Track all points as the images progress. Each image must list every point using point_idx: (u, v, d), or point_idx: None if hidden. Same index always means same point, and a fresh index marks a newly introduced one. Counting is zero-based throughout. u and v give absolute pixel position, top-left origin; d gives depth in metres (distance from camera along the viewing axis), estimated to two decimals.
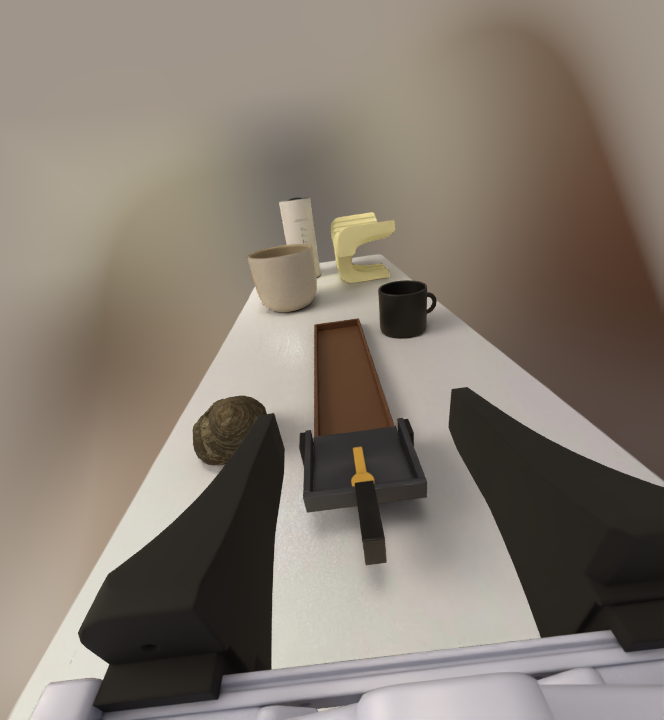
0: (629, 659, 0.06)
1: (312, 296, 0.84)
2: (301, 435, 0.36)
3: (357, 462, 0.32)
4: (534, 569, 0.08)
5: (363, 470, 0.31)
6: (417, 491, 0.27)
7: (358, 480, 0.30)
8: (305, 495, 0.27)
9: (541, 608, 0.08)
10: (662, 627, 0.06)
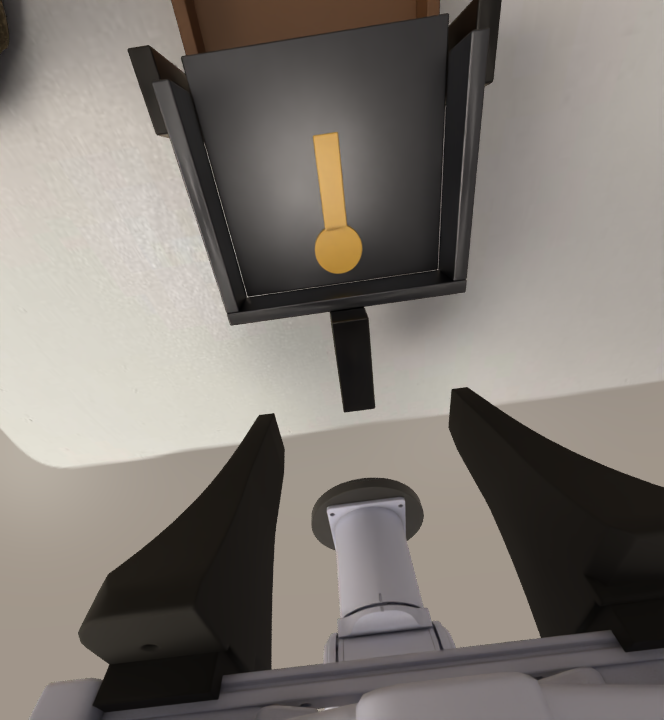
0: (629, 659, 0.06)
1: None
2: (137, 66, 0.11)
3: (326, 195, 0.13)
4: (534, 569, 0.08)
5: (340, 222, 0.14)
6: None
7: (329, 249, 0.14)
8: (232, 319, 0.14)
9: (541, 608, 0.08)
10: (662, 627, 0.06)
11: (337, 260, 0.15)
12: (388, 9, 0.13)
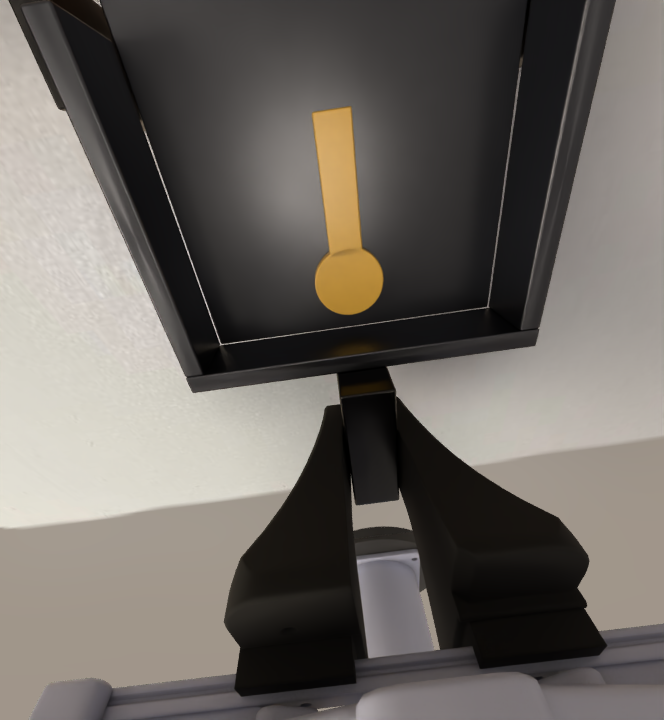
0: (629, 660, 0.06)
1: None
2: None
3: (332, 204, 0.09)
4: (431, 582, 0.08)
5: (353, 243, 0.09)
6: None
7: (335, 283, 0.10)
8: (195, 385, 0.10)
9: (437, 620, 0.08)
10: (514, 644, 0.06)
11: (347, 297, 0.10)
12: None
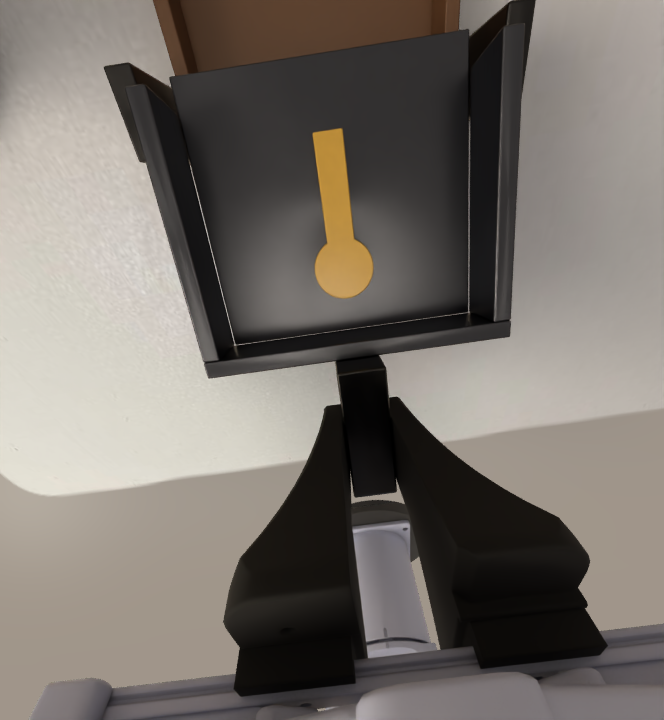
0: (629, 659, 0.06)
1: None
2: (116, 86, 0.09)
3: (329, 201, 0.11)
4: (432, 581, 0.08)
5: (346, 234, 0.11)
6: None
7: (332, 268, 0.12)
8: (211, 371, 0.11)
9: (438, 620, 0.08)
10: (514, 644, 0.06)
11: (342, 282, 0.12)
12: (400, 18, 0.12)
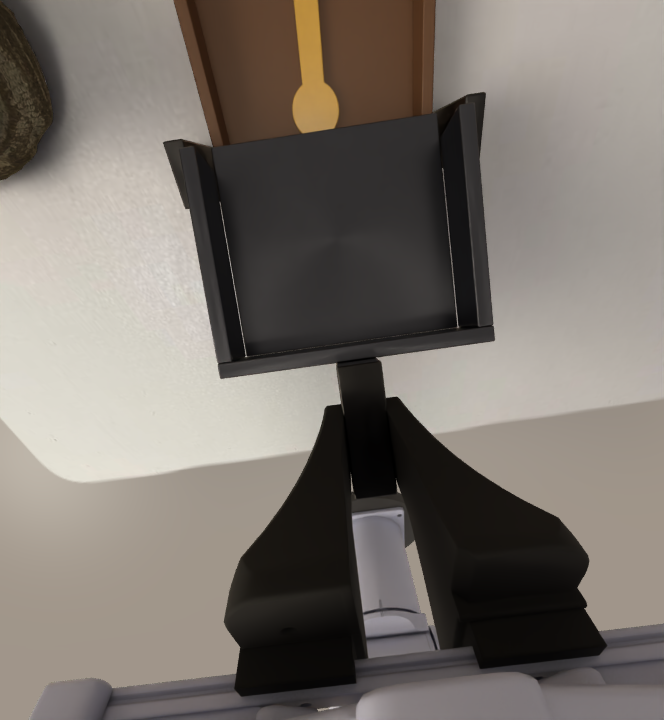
0: (629, 659, 0.06)
1: None
2: (171, 155, 0.12)
3: (304, 43, 0.13)
4: (431, 582, 0.08)
5: (317, 76, 0.14)
6: None
7: (306, 109, 0.15)
8: (223, 371, 0.12)
9: (437, 620, 0.08)
10: (514, 645, 0.06)
11: (314, 123, 0.15)
12: (388, 91, 0.15)
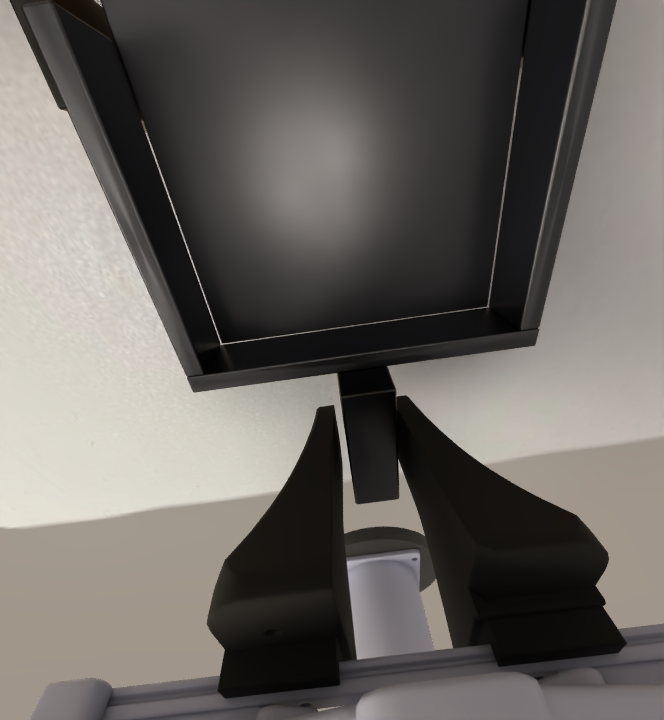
0: (629, 659, 0.06)
1: None
2: None
3: None
4: (445, 580, 0.08)
5: None
6: None
7: None
8: (196, 385, 0.10)
9: (451, 619, 0.08)
10: (533, 642, 0.06)
11: None
12: None
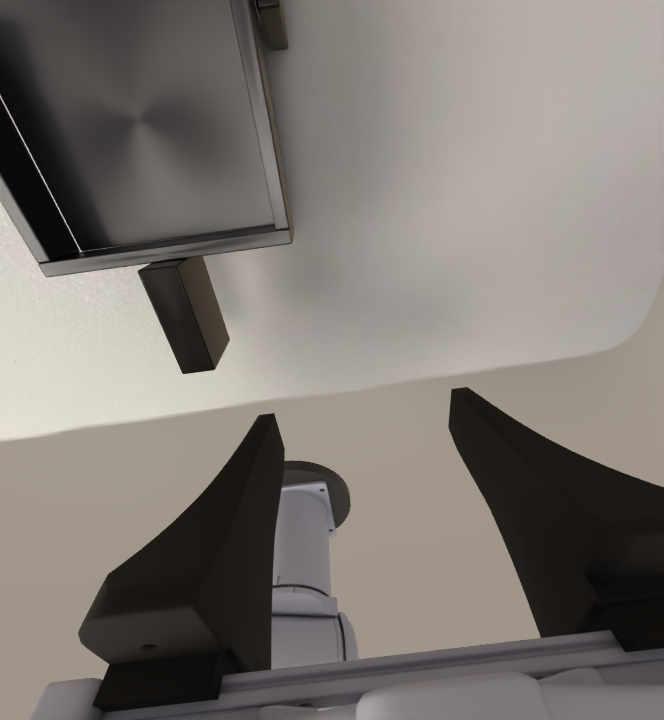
0: (629, 660, 0.06)
1: None
2: None
3: None
4: (534, 569, 0.08)
5: None
6: None
7: None
8: (46, 270, 0.13)
9: (541, 608, 0.08)
10: (662, 627, 0.06)
11: None
12: None
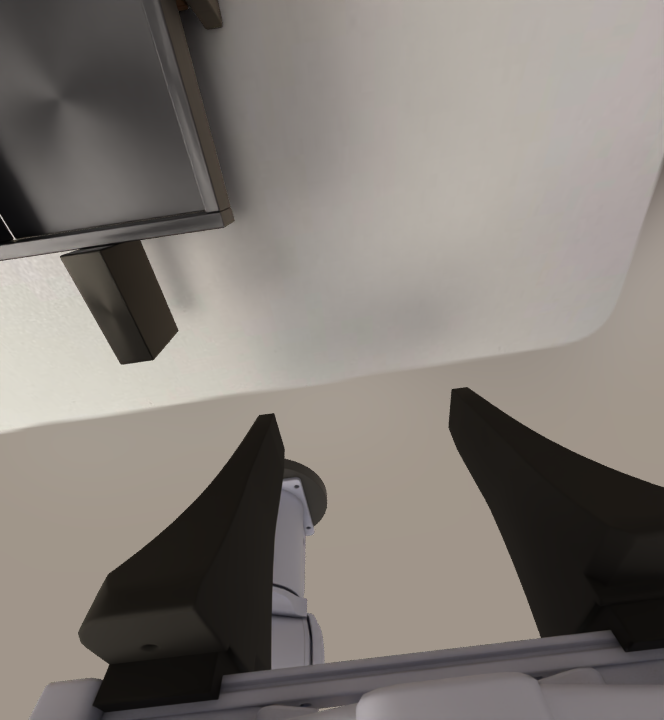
0: (629, 659, 0.06)
1: None
2: None
3: None
4: (534, 569, 0.08)
5: None
6: None
7: None
8: None
9: (541, 608, 0.08)
10: (662, 627, 0.06)
11: None
12: None
